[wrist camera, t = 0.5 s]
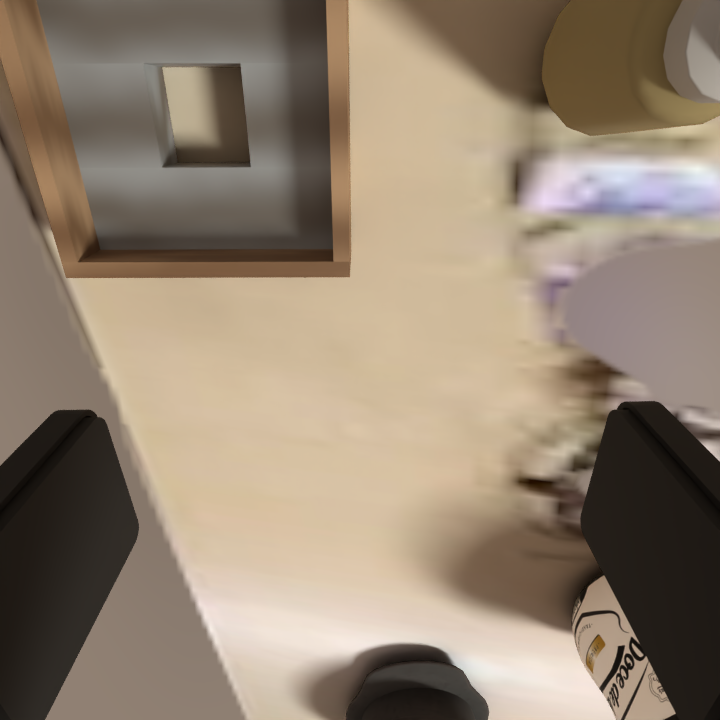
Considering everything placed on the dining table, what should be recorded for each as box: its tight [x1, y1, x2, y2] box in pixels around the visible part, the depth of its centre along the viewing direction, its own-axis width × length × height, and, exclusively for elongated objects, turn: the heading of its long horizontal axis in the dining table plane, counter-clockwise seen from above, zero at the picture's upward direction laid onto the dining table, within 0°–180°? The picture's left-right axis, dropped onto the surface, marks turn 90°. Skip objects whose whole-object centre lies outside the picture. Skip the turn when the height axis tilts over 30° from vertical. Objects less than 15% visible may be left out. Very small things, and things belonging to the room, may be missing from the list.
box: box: [0, 0, 351, 278], centre depth 29 cm, size 18×18×6 cm
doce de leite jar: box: [572, 574, 679, 720], centre depth 46 cm, size 17×17×18 cm
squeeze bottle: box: [541, 0, 720, 136], centre depth 22 cm, size 8×8×18 cm
